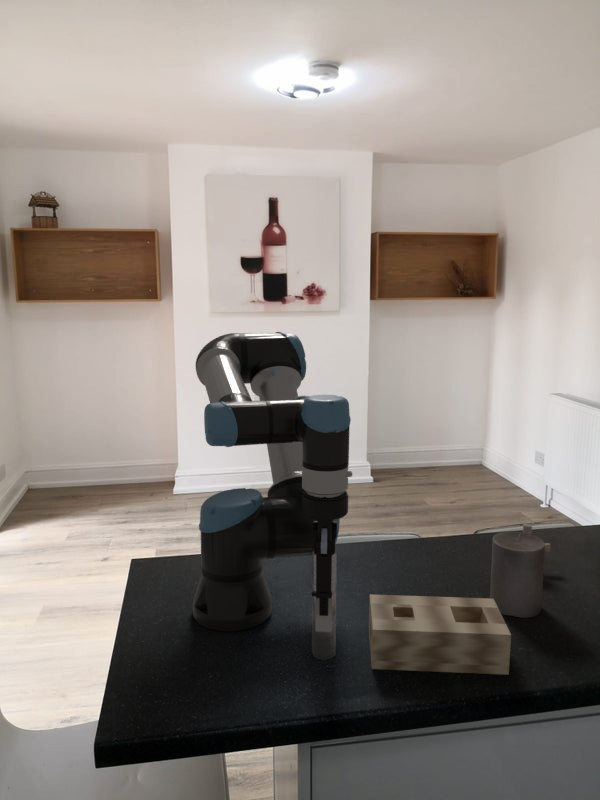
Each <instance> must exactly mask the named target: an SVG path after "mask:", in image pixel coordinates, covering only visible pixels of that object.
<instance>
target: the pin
mask: <svg viewBox="0 0 600 800" xmlns="http://www.w3.org/2000/svg"><path fill="white" fill-rule="evenodd" d="M337 556H338V555H337V552H336V551H335V553H334V555H332V583H331V591H332V632H319V631H315V623H316V596H312V595H311V597H312V599H311V602H312V603H311V606H312V607H311V609H312V610H311V613H312V614H311V616H312V619H311V625H312V626H311V628H312V629H311V631H312V633H311V654H313V655H312V656H313V657H314V658H315V657H316V658H315V659H317V658H318V659H317V660H320V659H321V660H320V661H328V660H327V659H329V660H332V659H333V658H334V657H336V650H337V649H336V648H337V647H336V645H337V641H336V640H337V638H336V636H337V630H336V629H337ZM311 557H312V558H311V559H312V567H311V568H312V573H311V574H312V579H311V580H312V582H311V583H312V584H311V586H312V589H311V592H312V591H316V554H315V553H314V552H313V554H312V556H311Z"/></svg>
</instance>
